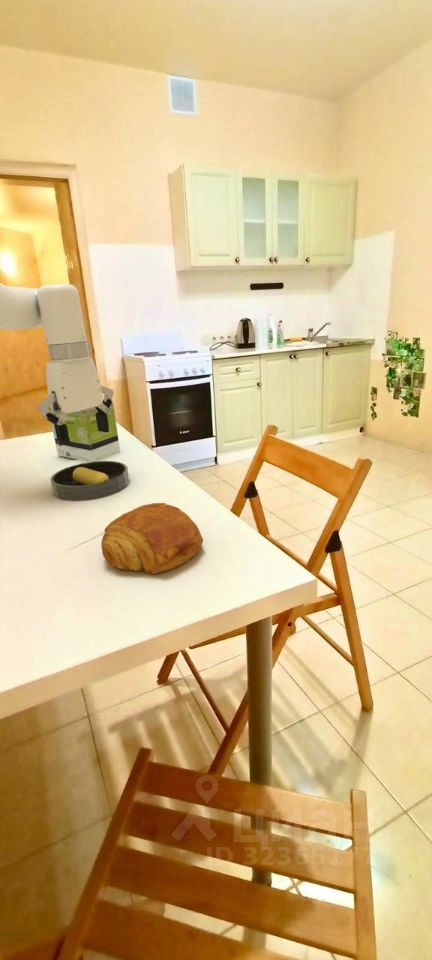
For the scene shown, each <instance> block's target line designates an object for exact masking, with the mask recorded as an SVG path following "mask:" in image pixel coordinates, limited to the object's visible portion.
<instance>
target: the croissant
mask: <svg viewBox="0 0 432 960" xmlns="http://www.w3.org/2000/svg"><path fill="white" fill-rule="evenodd" d="M203 542H204V538H203V536H202V534H201V531H200V529H199V526H198V525H197V524H196V523H195V522H194V520H193V519H192V518H191V517H190V515H189V514H188V513H186V512H185V511H183V510H182V509H180V508H179V507H176V506H174V505H171V504H167V503H166V502H153V503H147V504H144V505H140V506H138V507H136V508H134V509H132V510H130V511H128V512H125V513H122V514H121V515H119V516H118V517H116V518H115V519H114V520H112V521H111V522H110V523H109V524H108V525H106V527H105V528H104V533H103V535H102V538H101V553H102V556H103V558H104V560H106V561H107V562H108V563H109V565H111V566H112V567H113V568H117V569H121V570H125V571H126V572H127V571H129V570H130V571H131V570H132V571H134V572H140V571H142V573H143V574H145V575H147V576H148V575H155V574H158V573H162V572H165V571H169V570H172V569H175V568H176V567H180V565H182V564H184V563H186V562H188V561H189V560H190V559H192V558H193V556H195V555H196V554H197V552H199V551H200V550H201V547H202V546H203Z"/></svg>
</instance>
